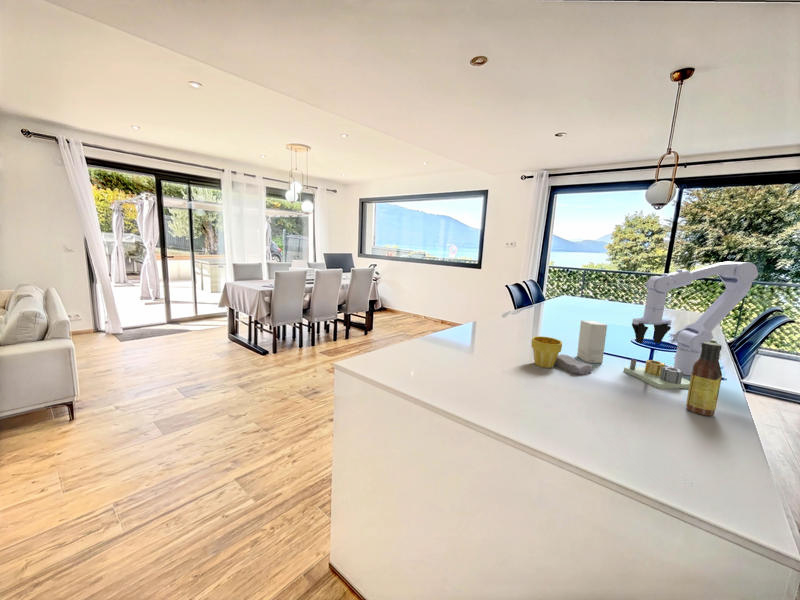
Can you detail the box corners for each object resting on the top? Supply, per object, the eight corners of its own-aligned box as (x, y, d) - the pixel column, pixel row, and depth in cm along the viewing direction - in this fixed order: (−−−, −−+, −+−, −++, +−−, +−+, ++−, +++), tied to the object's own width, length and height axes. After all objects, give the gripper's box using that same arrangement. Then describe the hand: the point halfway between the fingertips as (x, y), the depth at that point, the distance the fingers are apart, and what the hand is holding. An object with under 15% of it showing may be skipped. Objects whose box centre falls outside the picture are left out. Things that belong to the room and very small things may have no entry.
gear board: (657, 371, 127) (659, 356, 126) (696, 388, 112) (699, 371, 111) (623, 371, 125) (626, 355, 124) (658, 388, 110) (662, 371, 109)
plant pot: (540, 370, 121) (543, 344, 119) (523, 360, 131) (526, 336, 129) (565, 369, 123) (568, 344, 122) (547, 359, 133) (550, 336, 132)
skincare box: (602, 363, 132) (608, 325, 130) (585, 362, 132) (591, 324, 130) (591, 356, 141) (596, 320, 138) (575, 355, 141) (580, 319, 138)
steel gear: (664, 376, 117) (667, 365, 117) (683, 382, 113) (685, 370, 112) (657, 378, 115) (659, 367, 114) (676, 384, 110) (678, 373, 110)
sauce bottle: (720, 418, 92) (736, 348, 88) (693, 415, 93) (708, 345, 89) (703, 407, 98) (718, 341, 95) (679, 404, 99) (692, 339, 96)
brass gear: (653, 370, 123) (655, 359, 123) (666, 375, 118) (669, 365, 117) (640, 370, 123) (642, 359, 122) (653, 375, 117) (655, 365, 117)
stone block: (566, 366, 133) (549, 364, 128) (570, 355, 132) (552, 352, 128) (594, 379, 122) (576, 377, 118) (598, 366, 122) (580, 364, 117)
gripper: (662, 306, 131) (655, 340, 134) (628, 305, 129) (622, 339, 132) (678, 310, 124) (672, 345, 127) (643, 309, 123) (637, 345, 125)
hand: (647, 342), depth 129 cm, fingers open, 7 cm apart
